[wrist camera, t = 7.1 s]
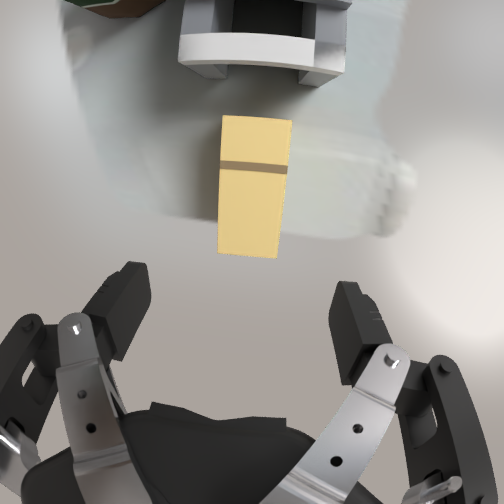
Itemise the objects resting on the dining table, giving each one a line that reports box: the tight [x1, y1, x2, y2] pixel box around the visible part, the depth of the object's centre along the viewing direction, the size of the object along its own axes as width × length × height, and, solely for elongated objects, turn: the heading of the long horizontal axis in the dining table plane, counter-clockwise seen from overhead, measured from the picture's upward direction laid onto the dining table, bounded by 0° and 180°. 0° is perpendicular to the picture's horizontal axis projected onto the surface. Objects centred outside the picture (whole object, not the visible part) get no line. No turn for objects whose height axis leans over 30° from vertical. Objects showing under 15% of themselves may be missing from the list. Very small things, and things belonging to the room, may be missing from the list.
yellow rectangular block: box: [217, 115, 292, 258], centre depth 18 cm, size 9×4×4 cm, turn 176°
